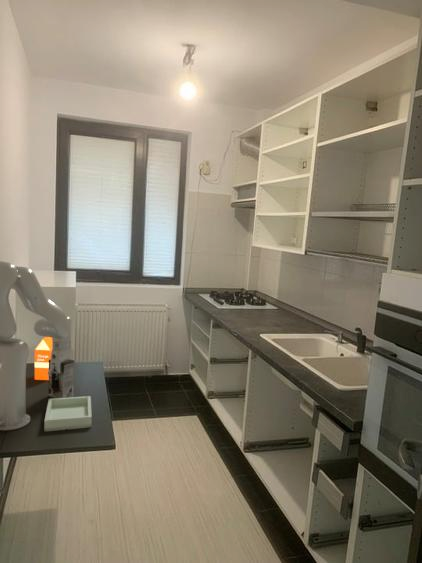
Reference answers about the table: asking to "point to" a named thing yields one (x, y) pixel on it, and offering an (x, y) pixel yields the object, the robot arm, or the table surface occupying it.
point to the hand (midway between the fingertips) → (61, 384)
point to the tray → (68, 413)
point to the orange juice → (43, 359)
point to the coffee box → (63, 381)
